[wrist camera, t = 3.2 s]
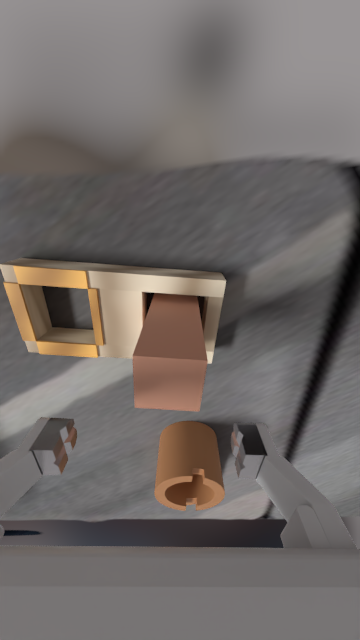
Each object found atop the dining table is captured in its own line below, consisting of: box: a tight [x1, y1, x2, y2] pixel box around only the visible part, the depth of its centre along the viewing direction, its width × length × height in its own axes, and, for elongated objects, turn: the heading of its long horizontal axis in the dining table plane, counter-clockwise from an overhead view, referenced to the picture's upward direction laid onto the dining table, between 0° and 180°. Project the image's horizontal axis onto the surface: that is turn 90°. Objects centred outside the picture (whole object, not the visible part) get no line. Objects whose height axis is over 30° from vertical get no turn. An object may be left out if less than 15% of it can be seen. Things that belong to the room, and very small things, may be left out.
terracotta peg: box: [133, 293, 208, 411], centre depth 16 cm, size 4×4×10 cm
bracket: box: [155, 421, 225, 511], centre depth 30 cm, size 18×8×7 cm, turn 175°
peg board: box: [0, 258, 226, 364], centre depth 19 cm, size 18×8×3 cm, turn 86°
